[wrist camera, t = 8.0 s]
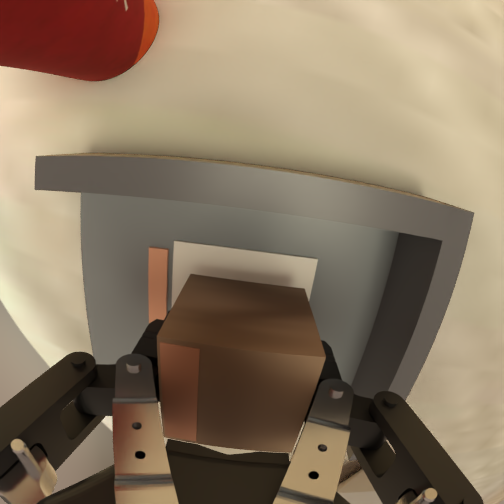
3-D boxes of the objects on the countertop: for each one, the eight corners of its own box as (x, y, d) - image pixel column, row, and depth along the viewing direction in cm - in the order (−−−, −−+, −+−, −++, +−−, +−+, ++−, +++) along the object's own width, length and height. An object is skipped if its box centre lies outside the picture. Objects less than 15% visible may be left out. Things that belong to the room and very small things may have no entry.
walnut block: (304, 288, 13) (326, 358, 9) (284, 375, 15) (291, 453, 10) (189, 273, 13) (154, 336, 8) (185, 363, 15) (161, 437, 10)
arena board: (354, 410, 19) (369, 458, 15) (102, 378, 19) (75, 421, 14) (423, 196, 14) (474, 212, 10) (88, 153, 14) (35, 156, 10)
